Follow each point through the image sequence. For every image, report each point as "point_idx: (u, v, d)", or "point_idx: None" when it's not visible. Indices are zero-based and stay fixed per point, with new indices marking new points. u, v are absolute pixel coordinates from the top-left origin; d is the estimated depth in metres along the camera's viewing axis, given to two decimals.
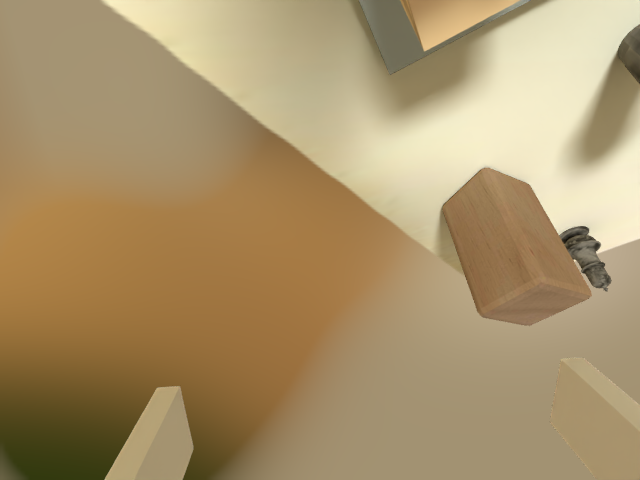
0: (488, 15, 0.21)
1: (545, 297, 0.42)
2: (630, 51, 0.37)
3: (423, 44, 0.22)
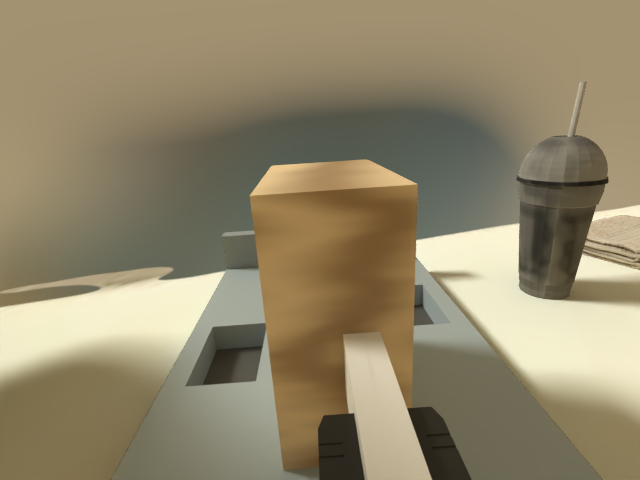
0: (388, 171, 0.16)
1: None
2: (550, 280, 0.34)
3: (403, 184, 0.13)
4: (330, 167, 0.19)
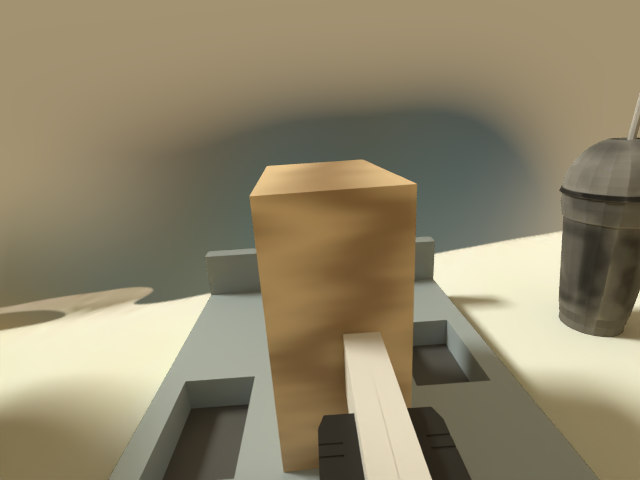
0: (385, 171, 0.16)
1: None
2: (602, 315, 0.28)
3: (403, 184, 0.13)
4: (326, 167, 0.19)
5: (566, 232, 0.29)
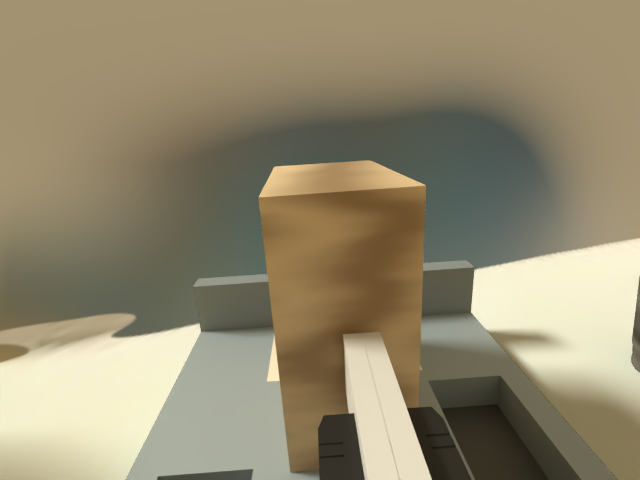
0: (393, 172, 0.16)
1: None
2: None
3: (412, 186, 0.13)
4: (334, 168, 0.19)
5: None
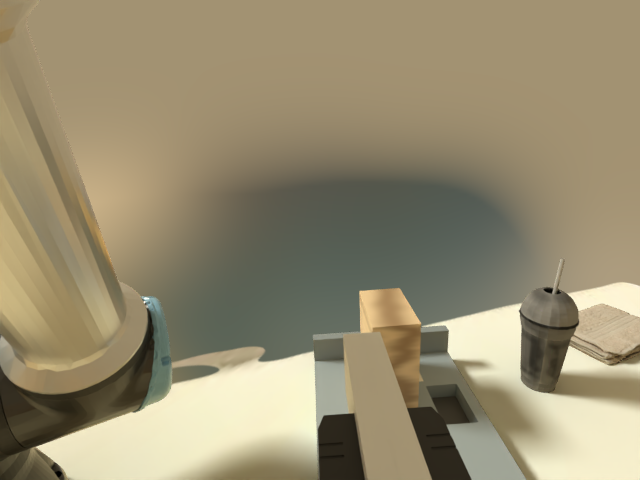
0: (410, 308, 0.47)
1: None
2: (541, 381, 0.51)
3: (417, 323, 0.43)
4: (387, 298, 0.50)
5: (522, 334, 0.52)
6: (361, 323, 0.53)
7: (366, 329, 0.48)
